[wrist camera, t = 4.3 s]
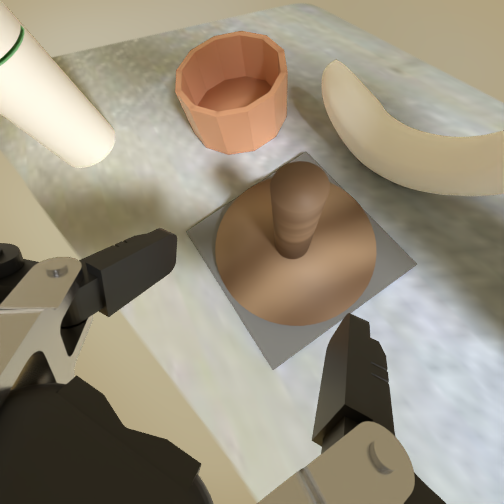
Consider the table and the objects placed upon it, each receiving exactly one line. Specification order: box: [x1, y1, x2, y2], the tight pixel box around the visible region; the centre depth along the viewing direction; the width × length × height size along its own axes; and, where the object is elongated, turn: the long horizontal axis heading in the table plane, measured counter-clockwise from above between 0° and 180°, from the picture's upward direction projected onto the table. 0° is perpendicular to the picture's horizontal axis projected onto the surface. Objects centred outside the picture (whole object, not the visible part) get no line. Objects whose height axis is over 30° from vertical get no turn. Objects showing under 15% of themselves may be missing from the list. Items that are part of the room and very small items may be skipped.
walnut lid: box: [215, 161, 377, 326], centre depth 16 cm, size 14×14×10 cm
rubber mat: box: [186, 152, 417, 370], centre depth 21 cm, size 15×15×1 cm
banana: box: [322, 60, 504, 196], centre depth 16 cm, size 5×19×15 cm, turn 48°
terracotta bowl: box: [175, 31, 288, 155], centre depth 25 cm, size 11×11×5 cm
